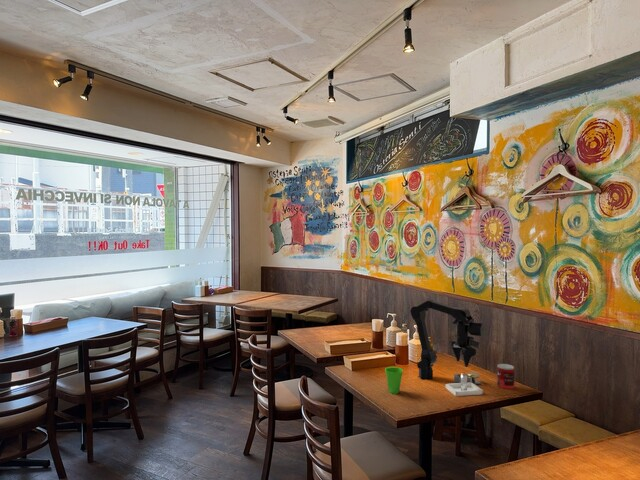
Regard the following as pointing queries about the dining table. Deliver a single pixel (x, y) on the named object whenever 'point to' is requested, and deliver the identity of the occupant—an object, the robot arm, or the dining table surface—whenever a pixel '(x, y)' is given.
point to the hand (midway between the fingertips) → (462, 363)
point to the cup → (394, 379)
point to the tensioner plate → (468, 378)
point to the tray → (471, 390)
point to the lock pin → (463, 381)
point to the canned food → (505, 376)
